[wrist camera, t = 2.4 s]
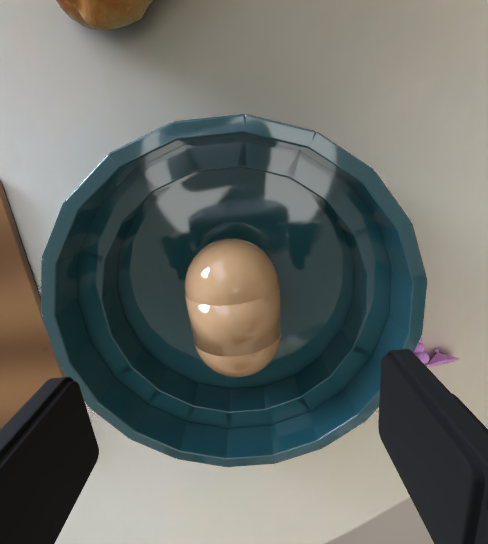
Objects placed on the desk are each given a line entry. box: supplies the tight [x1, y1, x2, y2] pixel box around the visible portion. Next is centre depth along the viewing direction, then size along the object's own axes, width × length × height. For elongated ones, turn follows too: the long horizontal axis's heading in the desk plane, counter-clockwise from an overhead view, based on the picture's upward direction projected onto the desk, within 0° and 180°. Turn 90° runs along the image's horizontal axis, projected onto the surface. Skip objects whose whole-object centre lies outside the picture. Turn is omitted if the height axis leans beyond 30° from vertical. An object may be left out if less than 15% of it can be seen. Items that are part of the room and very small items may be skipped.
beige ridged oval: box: [184, 238, 282, 377], centre depth 15 cm, size 7×4×4 cm, turn 6°
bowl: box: [41, 114, 427, 467], centre depth 15 cm, size 16×16×4 cm
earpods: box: [414, 339, 459, 367], centre depth 18 cm, size 3×2×2 cm
